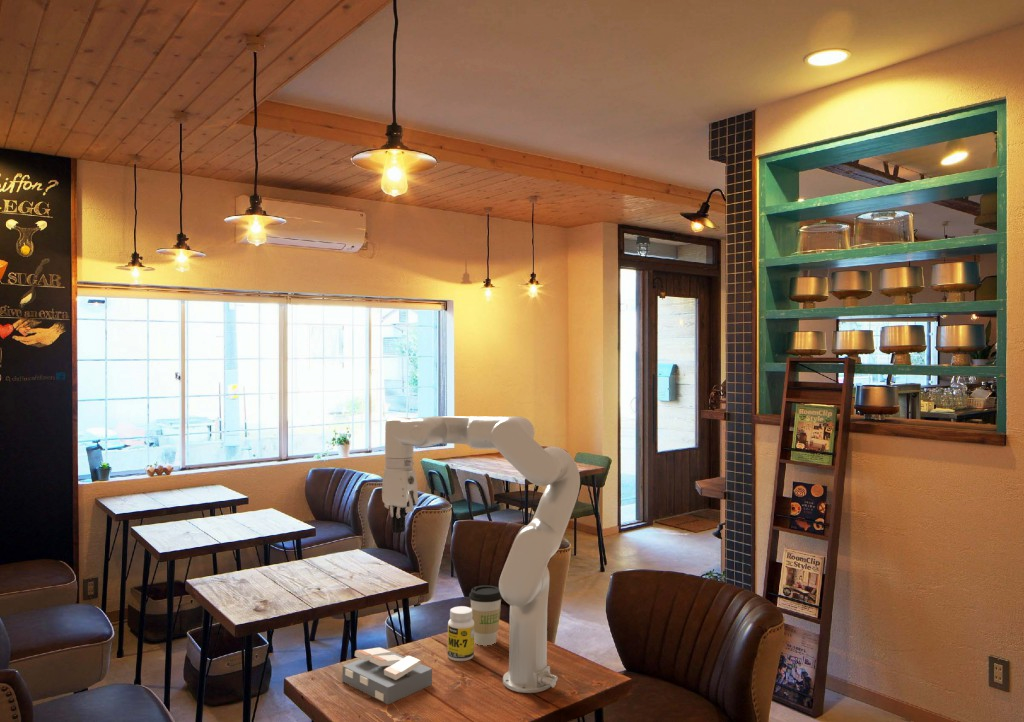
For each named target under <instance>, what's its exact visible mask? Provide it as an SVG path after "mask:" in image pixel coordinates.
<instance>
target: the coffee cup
mask: <svg viewBox="0 0 1024 722" xmlns="http://www.w3.org/2000/svg"><path fill="white" fill-rule="evenodd" d="M468 598H469V600H470V608H471V609H472V615H473V616H472V619H473V621H474V644H475V643H476V644H475V645H477V644H478V645H477V646H480V645H483V646H482V647H488V646H487V645H491V646H493V645H492V644H494V643H495V644H496V643H497V640H498V639H497V638H498V630H499V625H500V624H499V623H500V617H501V609H502V608H501V602H502V599H503V598H502V596H501V594H500V591H499V586H496V585H487V584H486V585H477V586H474V587H472V588H471V589H470V592H469V594H468ZM495 644H494V645H495Z"/></svg>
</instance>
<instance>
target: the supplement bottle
mask: <svg viewBox="0 0 1024 722" xmlns="http://www.w3.org/2000/svg"><path fill="white" fill-rule="evenodd" d="M472 616H473V615H472V609H471V607H469V606H465V605H460V606H459V605H458V606H454V607H452V608H450V609H449V620H448V622H447V648H446V649H447V652H446V653H447V657H448V659H449V660H451V661H456V662H465V661H466V662H467V661H469V660H471V659H473V658H474V655H475V639H474V621H473V619H472Z"/></svg>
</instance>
